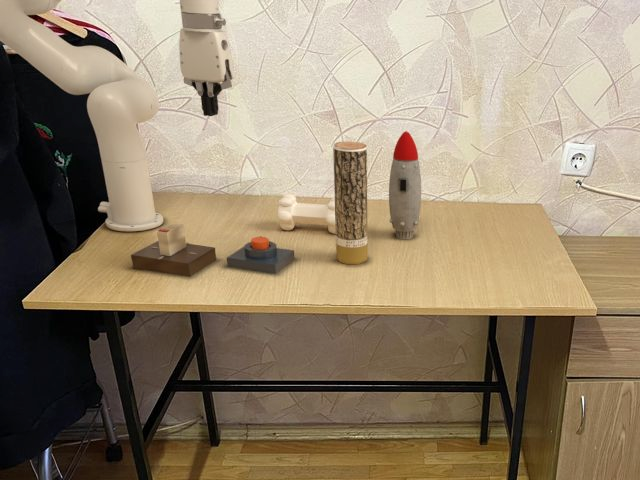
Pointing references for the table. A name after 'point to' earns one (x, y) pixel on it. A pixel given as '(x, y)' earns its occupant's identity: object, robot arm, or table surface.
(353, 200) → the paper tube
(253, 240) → the button
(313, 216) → the dog bone
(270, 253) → the button box
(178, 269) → the panel
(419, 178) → the toy rocket
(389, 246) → the table surface
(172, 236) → the beige block
